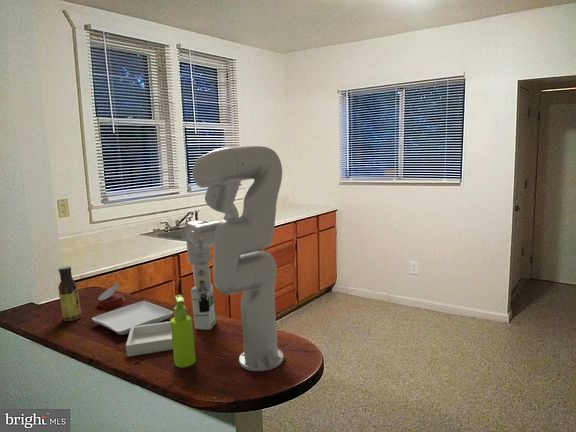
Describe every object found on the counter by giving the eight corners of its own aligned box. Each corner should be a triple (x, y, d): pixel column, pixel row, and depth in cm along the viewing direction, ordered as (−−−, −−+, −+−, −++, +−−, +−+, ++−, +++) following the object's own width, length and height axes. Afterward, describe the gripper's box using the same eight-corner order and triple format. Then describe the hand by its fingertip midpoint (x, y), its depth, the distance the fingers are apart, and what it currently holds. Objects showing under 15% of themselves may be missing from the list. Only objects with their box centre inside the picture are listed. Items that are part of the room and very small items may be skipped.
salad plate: (144, 307, 167) (143, 299, 166) (175, 319, 153) (174, 311, 152) (91, 326, 151) (89, 317, 151) (120, 342, 137) (118, 332, 137)
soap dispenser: (177, 371, 116) (169, 302, 113) (173, 360, 123) (166, 294, 119) (198, 365, 119) (191, 298, 115) (193, 355, 125) (187, 290, 122)
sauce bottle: (82, 319, 157) (75, 267, 154) (64, 323, 154) (56, 271, 150) (80, 314, 162) (73, 264, 159) (62, 318, 159) (54, 267, 156)
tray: (175, 348, 129) (174, 338, 129) (127, 356, 126) (125, 345, 126) (175, 330, 143) (174, 320, 142) (132, 336, 140) (131, 326, 139)
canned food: (118, 317, 169) (110, 300, 163) (96, 313, 172) (87, 297, 166) (132, 296, 178) (125, 279, 172) (111, 293, 180) (104, 276, 174)
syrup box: (210, 329, 142) (207, 288, 139) (194, 329, 143) (190, 288, 141) (216, 322, 147) (213, 283, 145) (201, 322, 149) (197, 282, 146)
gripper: (212, 262, 134) (217, 315, 137) (209, 250, 150) (213, 297, 153) (188, 265, 132) (193, 318, 135) (187, 252, 149) (192, 300, 152)
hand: (204, 306), depth 144 cm, fingers open, 7 cm apart
